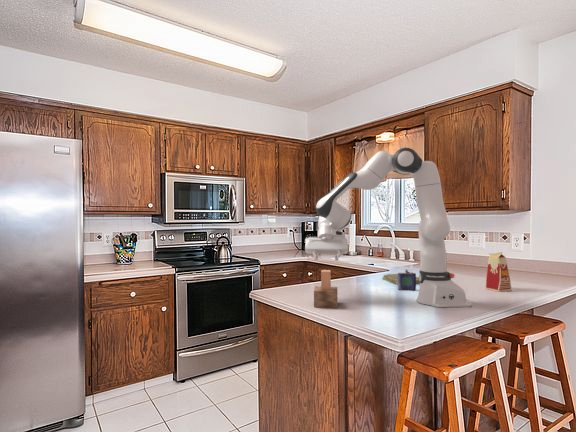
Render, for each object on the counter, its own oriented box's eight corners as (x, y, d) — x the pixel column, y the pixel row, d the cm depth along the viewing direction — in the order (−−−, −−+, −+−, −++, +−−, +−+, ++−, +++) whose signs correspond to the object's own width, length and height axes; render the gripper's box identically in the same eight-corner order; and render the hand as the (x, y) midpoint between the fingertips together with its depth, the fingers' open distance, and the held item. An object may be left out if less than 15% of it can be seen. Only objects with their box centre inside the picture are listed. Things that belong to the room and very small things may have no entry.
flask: (397, 290, 191) (397, 269, 191) (397, 289, 194) (397, 268, 194) (416, 290, 189) (416, 270, 189) (415, 289, 192) (415, 269, 192)
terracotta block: (330, 288, 163) (330, 270, 163) (330, 289, 159) (330, 271, 159) (321, 287, 163) (321, 270, 163) (321, 289, 159) (321, 271, 159)
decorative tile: (406, 278, 227) (406, 272, 227) (426, 284, 208) (426, 278, 208) (379, 280, 222) (379, 274, 222) (397, 286, 203) (397, 280, 203)
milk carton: (511, 290, 188) (511, 251, 188) (499, 292, 185) (498, 252, 185) (495, 287, 197) (495, 250, 197) (483, 288, 193) (483, 251, 193)
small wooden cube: (337, 302, 166) (337, 286, 165) (337, 307, 156) (337, 291, 156) (315, 301, 167) (315, 286, 167) (314, 307, 157) (313, 291, 157)
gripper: (304, 232, 176) (303, 255, 166) (347, 232, 173) (348, 255, 163) (305, 241, 180) (304, 263, 170) (347, 241, 177) (348, 264, 168)
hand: (326, 259), depth 167 cm, fingers open, 8 cm apart
